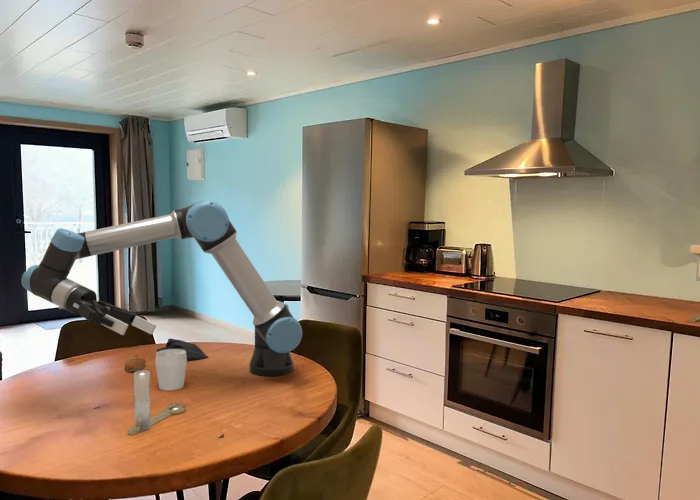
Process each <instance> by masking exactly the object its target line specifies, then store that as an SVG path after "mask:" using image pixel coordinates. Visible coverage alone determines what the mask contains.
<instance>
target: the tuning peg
mask: <svg viewBox="0 0 700 500" xmlns="http://www.w3.org/2000/svg"><path fill="white" fill-rule="evenodd" d="M133 391H134V392H133V396H134V398H133V399H134V400H133V401H134V402H133V403H134V409H133V410H134V425H133V426H131V427H130V428H128V429H127V434H128V435H130V436H134V435H136V434H138V433H140V432H144V431H145V432H146V431H148V430H150V429H151V427H152V426H153V425H155V424H157V423H158V422H161V421H162V420H164V419H167V418H168V417H170V416H172V415H173V416H174V415H180V414H183V413H185V412H186V404H185V403H182V402H177V403H176V402H175V403H169V404H168V405H166V406H165V410H163V411H160V412H159V413H157V414H155V415H153V416H151V372H150V370H147V369H141V370H140V371H133Z"/></svg>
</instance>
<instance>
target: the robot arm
mask: <svg viewBox="0 0 700 500" xmlns="http://www.w3.org/2000/svg"><path fill="white" fill-rule="evenodd" d="M237 235H238V231H237V229H236V228H235V227H234V225H233V224H232V222H231V221H230V219H229V215H228V213H227V211H226V210H225V208H223V206H222V205H220V204H219V203H218V202H215V201H212V200H201V201H197V202H195V203H193V204H190V205H188V206H185V207H182V208H179V209H174V210H171V213H170V214H169V213H168V214H165V215H161V216H160V215H159V216H155V217H150V218H145V219H142V220H136V221H131V222H126V223H123V224H121V223H120V224H116V225H111V226H107V227H102V228H98V229H93V230H87V231H84V232H79V233H78V232H74V231H71V230H68V229H65V228H62V227H61V228H57V229H56V231H55V232H54V235H53V236H52V237H51V239H50V242H49V243H48V247H47V249H46V250H45V253H44V255H43V257H42V260H41V261H40V263H39V264H33V265H31V266H29V267H28V268H27V270H26V271H24V272H23V274H22V276H21V281H20V282H21V285H22V287H23V289H25V290H26V291H28V292H30V293H31V294H33V295H34V296H36V297H38V298H41V299H43V300H46V301H48V302H50V303H51V304H54V305H56V306H58V309H59V310H66V311H68V312H69V313H71V314H73V315H75V316H77V317H83V319H86V320H87V322H89V323H92V324H93V323H94V324H93V326H94V327H99V326H100V325H101V326H103V327H105V328H108V329H110V330H111V331H113V332H114V333H115V332H116V333H117V334H119V335H121V336H125V333H126V331H127V329H128V328H129V324H131V326H133V327H135V328H137V329H140V330H141V331H143V332H145V333H147V334H149V335H153V334H154V332H155V330H156V328H157V324H155V323H153V322H151V321H148V320H146V319H144V318H142V317H140V313H139V312H136V313H134V312H132V311H129V310H128V309H127V310H126V309H124V308H121V307H119V306H117V305H114V304H111V303H109V302H107V301H102V300H100V299H97V298H98V297H97V296H98V295H97V294H96V292H95V291H94V290H92V289H91V288H88V287H87V286H83V285H82V284H80V283H79V282H76V281H74V280H72V279H69V278H68V277H69V274H70V272H71V270H72V268H73V266H74V264H75V262H76V260H80V259H85V258H88V257H92V256H93V257H94V256H97V255H103V254H106V253H111V252H115V251H120V250H125V249H129V248H134V247H140V246H144V245H148V244H151V243H152V244H153V243H156V242H160V241H166V240H170V239H175V238H176V239H178V240H184V239H185V240H186V239H191V238H194V240H195V241H196V243H197V244H198V246H199V247H200V248H201V250H202V251H203V253H205V254H210V255H212V257H213V258H214V260H215V262H216V263H217V264H218V266H219V267H220V269H221V270H222V271H223V273H224V274H225V276H226V277H227V279H228V281H229V282H230V284H231V285H232V286H233V288H234V289H235V291H236V292H237V294H238V295H239V296H240V298H241V300H242V301H243V302H244V304H245V305H246V307H247V309H248V310H249V311H250V312H251V314H252V315H253V321H252V324H253V326H254V349H253V352H252V355H251V358H250V362H249V369H248V370H249V372H250V373H251V374H254V375H256V376H257V375H258V376H265V377H269V376H270V377H275V376H276V377H277V376H283V375H286V374H289V373H291V372H292V371H294V361H293V357H292V355H291V351H293V350H295V349H296V348H297V347H298V346H299V344H300V343H301V341H302V338H303V329H302V326H301V323H300V322H299V321H298V320H297V318H294V316H293V315H292V313H291V312H290V309H289V307H290V306H289V305H288V304H287V303H286V304H285V303H284V302H283V301H278V300H277V299H276V297H275V296H274V295H273V293H272V292H271V290H270V289H269V287H268V285H267V284H266V283H265V281H264V280H263V278H262V277H261V275H260V274H259V272H258V271H257V269H256V268H255V266H254V264H253V262H251V260H250V258H249V256H248V254H246V252H245V251H244V249H243V248H242V246H241V245H240V243H239V242H238V240H237Z"/></svg>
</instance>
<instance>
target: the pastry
mask: <svg viewBox="0 0 700 500" xmlns="http://www.w3.org/2000/svg"><path fill="white" fill-rule="evenodd" d="M146 364H147V362H146V359H145V358H144V357H143V356H140V355H137V354H136V355H133V356H130V357H129V358H127V359H126V361H125V363H124V368H125V370H126V372H128V373H130V372H131V373H132V372H136V371H140V370H144V368H145V366H146Z"/></svg>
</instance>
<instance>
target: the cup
mask: <svg viewBox="0 0 700 500" xmlns="http://www.w3.org/2000/svg"><path fill="white" fill-rule="evenodd" d="M187 363H188V360H187V357H186V351H185V350H182V349H167V350H162V351H159V352H158V351H156V353H155V364H154V365H155V370H156V375H157V376H156V378H157V382H158V388H159V390H162V391H166V392H167V391H169V392H170V391H176V390H180V389H182V388H184V385H185V378H186V372H187V371H186V370H187Z"/></svg>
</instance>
